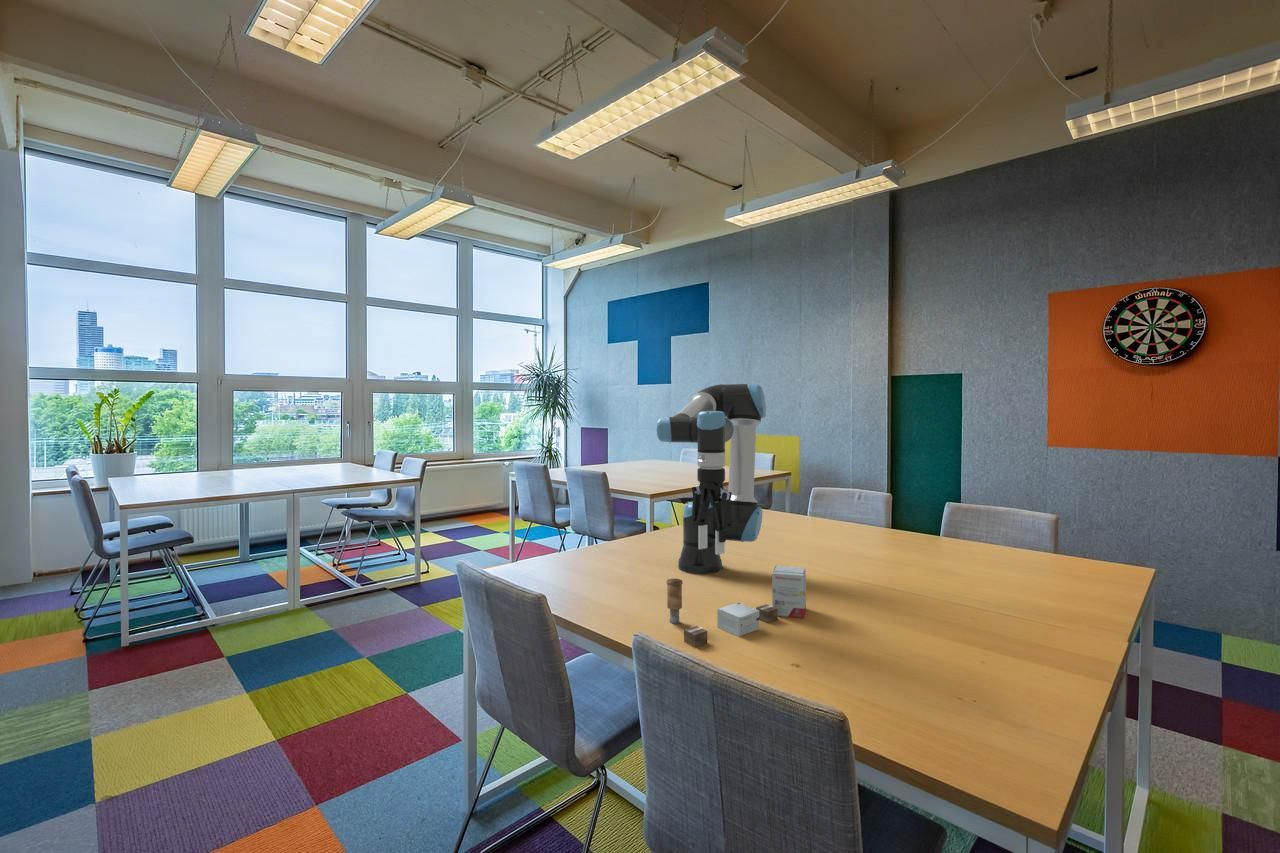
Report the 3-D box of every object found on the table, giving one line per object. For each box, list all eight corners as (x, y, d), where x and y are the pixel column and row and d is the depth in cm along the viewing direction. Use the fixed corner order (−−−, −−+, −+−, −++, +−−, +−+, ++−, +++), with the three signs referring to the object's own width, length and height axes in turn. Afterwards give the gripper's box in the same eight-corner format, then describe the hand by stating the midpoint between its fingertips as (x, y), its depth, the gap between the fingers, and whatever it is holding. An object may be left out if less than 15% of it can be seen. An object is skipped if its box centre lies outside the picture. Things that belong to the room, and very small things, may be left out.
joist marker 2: (766, 615, 157) (766, 603, 157) (777, 619, 154) (777, 607, 154) (755, 618, 155) (755, 606, 155) (767, 623, 151) (767, 611, 151)
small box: (739, 637, 143) (739, 617, 143) (716, 627, 149) (716, 608, 149) (760, 629, 148) (760, 610, 147) (737, 620, 154) (737, 601, 154)
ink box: (806, 608, 162) (806, 566, 162) (804, 619, 154) (804, 575, 153) (774, 604, 165) (775, 563, 164) (771, 615, 157) (771, 572, 156)
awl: (675, 617, 156) (675, 577, 155) (685, 622, 152) (685, 581, 152) (663, 621, 153) (663, 580, 153) (673, 626, 150) (673, 584, 149)
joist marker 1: (696, 637, 143) (696, 625, 142) (707, 643, 139) (707, 630, 139) (683, 641, 140) (683, 628, 140) (694, 647, 137) (694, 634, 137)
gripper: (678, 465, 164) (678, 546, 165) (725, 472, 148) (725, 561, 149) (698, 463, 168) (698, 542, 169) (746, 469, 153) (746, 556, 154)
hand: (711, 550), depth 159 cm, fingers open, 6 cm apart
